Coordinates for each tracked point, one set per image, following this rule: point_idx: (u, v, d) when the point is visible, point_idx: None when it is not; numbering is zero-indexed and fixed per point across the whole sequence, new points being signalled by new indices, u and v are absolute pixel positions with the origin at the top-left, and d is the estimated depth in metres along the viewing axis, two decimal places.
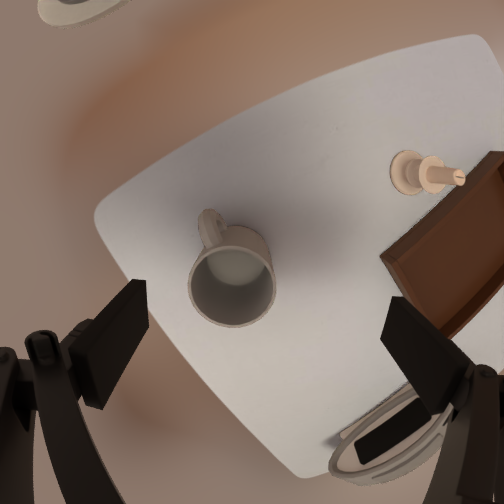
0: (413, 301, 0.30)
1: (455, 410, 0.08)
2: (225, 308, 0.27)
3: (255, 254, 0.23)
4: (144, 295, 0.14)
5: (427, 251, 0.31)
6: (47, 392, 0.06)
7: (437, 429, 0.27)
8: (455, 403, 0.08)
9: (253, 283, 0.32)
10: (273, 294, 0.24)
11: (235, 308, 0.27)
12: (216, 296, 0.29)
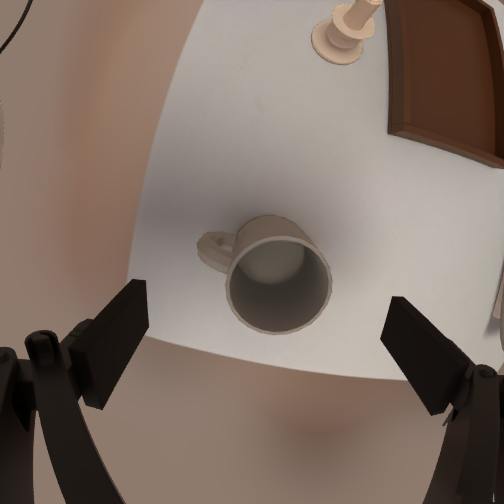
0: (452, 145, 0.22)
1: (456, 409, 0.08)
2: (296, 306, 0.23)
3: (269, 239, 0.19)
4: (144, 294, 0.14)
5: (421, 91, 0.23)
6: (47, 392, 0.06)
7: None
8: (455, 403, 0.08)
9: (305, 260, 0.27)
10: (321, 258, 0.19)
11: (305, 299, 0.23)
12: (281, 302, 0.25)
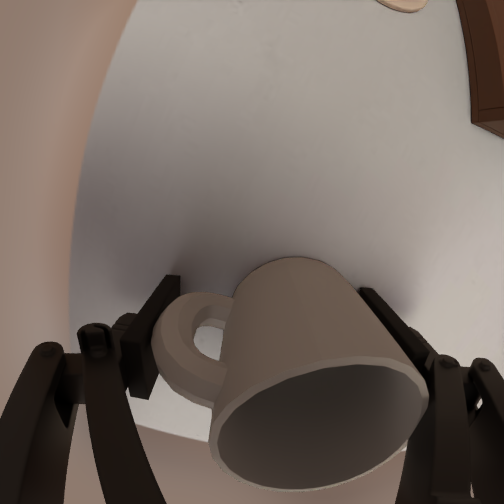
0: None
1: None
2: (340, 425, 0.11)
3: (316, 366, 0.07)
4: (179, 289, 0.15)
5: None
6: (96, 383, 0.07)
7: None
8: None
9: None
10: (419, 385, 0.07)
11: (357, 415, 0.11)
12: (311, 410, 0.13)
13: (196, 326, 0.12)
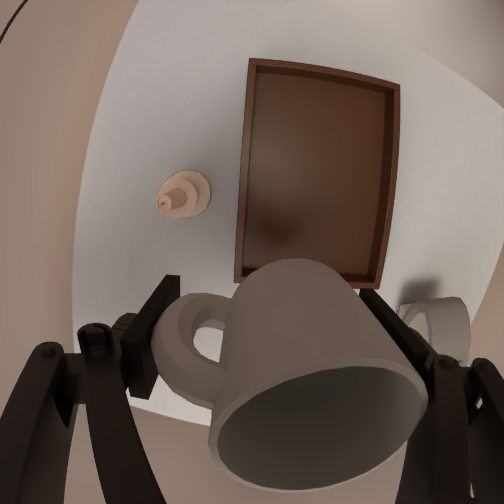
0: None
1: None
2: (339, 426, 0.11)
3: (315, 368, 0.07)
4: (179, 289, 0.15)
5: (270, 228, 0.32)
6: (96, 383, 0.07)
7: None
8: None
9: None
10: (419, 387, 0.07)
11: (356, 415, 0.11)
12: (311, 410, 0.13)
13: (196, 327, 0.12)
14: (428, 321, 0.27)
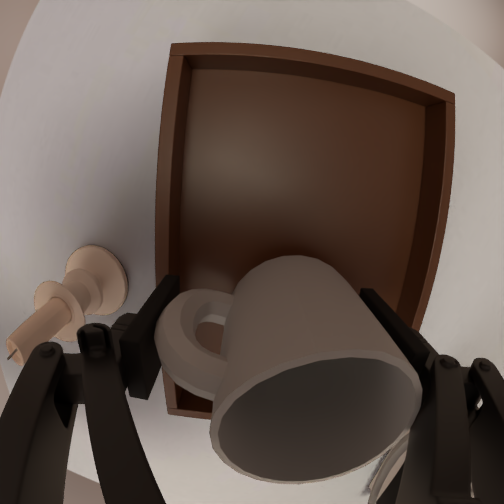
0: None
1: None
2: (337, 419, 0.12)
3: (312, 358, 0.07)
4: (178, 289, 0.15)
5: (221, 341, 0.19)
6: (96, 383, 0.07)
7: None
8: None
9: None
10: (413, 379, 0.07)
11: (353, 409, 0.12)
12: (309, 404, 0.13)
13: (197, 321, 0.12)
14: None
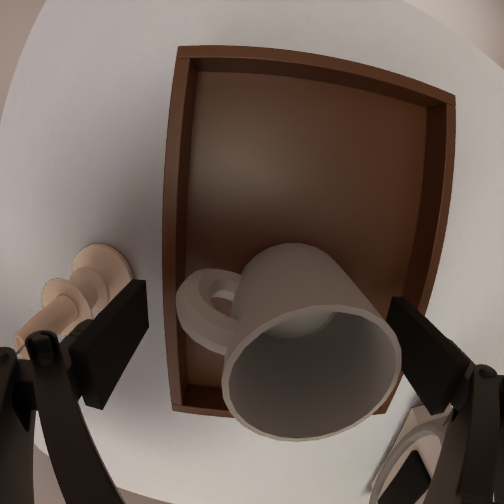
0: None
1: (455, 409, 0.08)
2: (330, 387, 0.14)
3: (307, 310, 0.09)
4: (144, 294, 0.14)
5: None
6: (47, 392, 0.06)
7: None
8: (455, 403, 0.08)
9: None
10: (392, 338, 0.10)
11: (344, 377, 0.14)
12: (305, 375, 0.16)
13: (211, 294, 0.14)
14: None
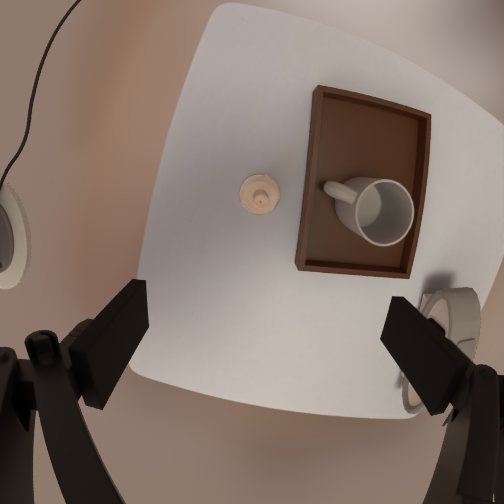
0: (343, 273, 0.37)
1: (456, 409, 0.08)
2: (385, 234, 0.32)
3: (382, 180, 0.28)
4: (144, 294, 0.14)
5: (327, 226, 0.38)
6: (47, 392, 0.06)
7: None
8: (455, 403, 0.08)
9: (382, 210, 0.37)
10: (409, 196, 0.28)
11: (391, 229, 0.32)
12: (372, 234, 0.34)
13: None
14: (448, 304, 0.33)
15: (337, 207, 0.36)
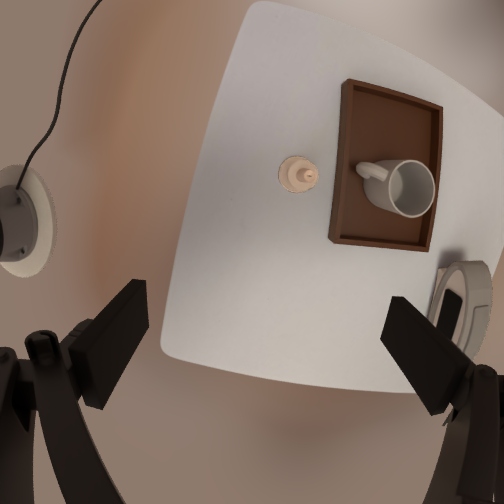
0: (372, 246, 0.40)
1: (456, 409, 0.08)
2: (410, 209, 0.35)
3: (409, 160, 0.31)
4: (145, 294, 0.14)
5: (356, 204, 0.41)
6: (47, 392, 0.06)
7: (470, 306, 0.35)
8: (455, 403, 0.08)
9: (403, 190, 0.39)
10: (430, 175, 0.31)
11: (414, 205, 0.35)
12: (398, 209, 0.37)
13: None
14: (464, 274, 0.36)
15: (366, 186, 0.38)
